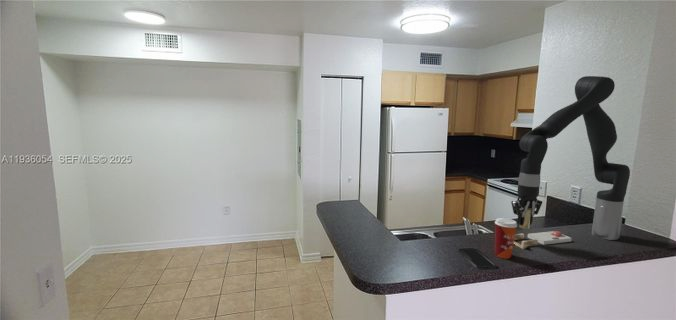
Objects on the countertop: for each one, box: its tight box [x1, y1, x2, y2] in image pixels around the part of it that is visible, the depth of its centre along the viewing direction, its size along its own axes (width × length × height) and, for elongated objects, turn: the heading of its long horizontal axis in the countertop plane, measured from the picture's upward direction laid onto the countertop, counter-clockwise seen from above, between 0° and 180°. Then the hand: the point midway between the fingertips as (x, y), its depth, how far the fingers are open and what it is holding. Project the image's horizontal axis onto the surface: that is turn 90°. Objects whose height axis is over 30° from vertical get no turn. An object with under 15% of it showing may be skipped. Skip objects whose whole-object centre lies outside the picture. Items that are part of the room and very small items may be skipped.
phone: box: [458, 247, 498, 270], centre depth 117 cm, size 8×1×15 cm
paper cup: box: [494, 217, 518, 260], centre depth 119 cm, size 8×8×14 cm
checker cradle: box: [527, 230, 572, 245], centre depth 134 cm, size 14×8×3 cm, turn 104°
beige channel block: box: [514, 233, 539, 250], centre depth 131 cm, size 7×8×3 cm
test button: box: [553, 230, 563, 237], centre depth 135 cm, size 3×3×4 cm
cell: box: [518, 208, 531, 230], centre depth 129 cm, size 4×4×8 cm
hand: (524, 224), depth 129 cm, fingers closed on cell, 3 cm apart
